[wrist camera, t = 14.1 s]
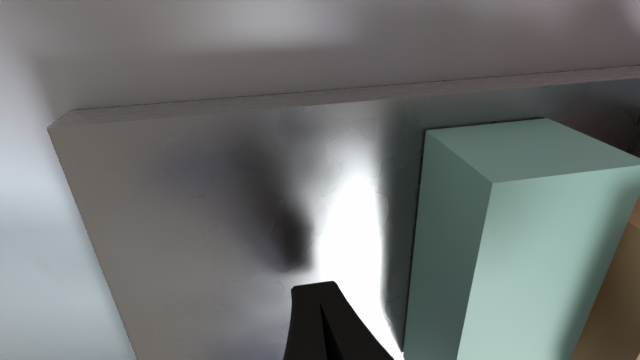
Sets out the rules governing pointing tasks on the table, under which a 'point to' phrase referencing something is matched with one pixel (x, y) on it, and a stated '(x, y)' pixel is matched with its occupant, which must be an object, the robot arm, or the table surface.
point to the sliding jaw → (513, 239)
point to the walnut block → (616, 304)
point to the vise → (288, 198)
